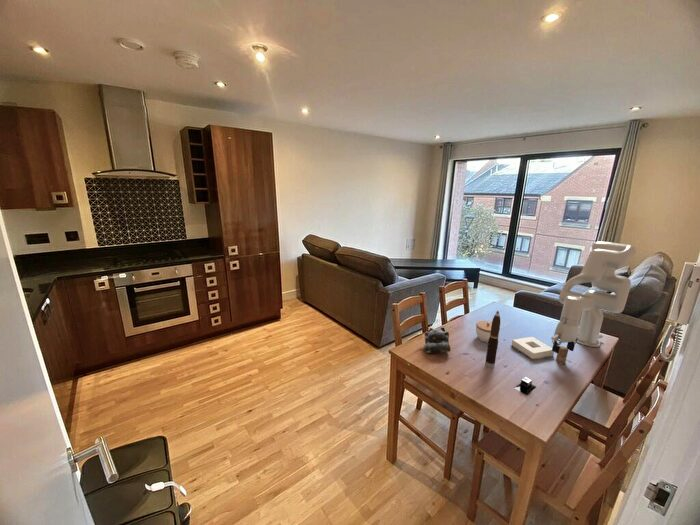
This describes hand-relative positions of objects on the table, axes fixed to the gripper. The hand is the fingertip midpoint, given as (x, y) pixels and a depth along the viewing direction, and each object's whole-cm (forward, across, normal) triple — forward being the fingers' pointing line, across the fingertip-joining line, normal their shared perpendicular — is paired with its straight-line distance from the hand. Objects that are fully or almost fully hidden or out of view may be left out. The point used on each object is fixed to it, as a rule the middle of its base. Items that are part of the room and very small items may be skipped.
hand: (562, 350), depth 147 cm
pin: (+7, -1, 0) cm, 7 cm away
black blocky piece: (+8, +34, +11) cm, 36 cm away
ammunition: (+8, +37, -7) cm, 39 cm away
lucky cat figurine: (+8, +57, -26) cm, 63 cm away
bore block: (+7, +5, -12) cm, 15 cm away
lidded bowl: (+7, +21, -29) cm, 37 cm away
